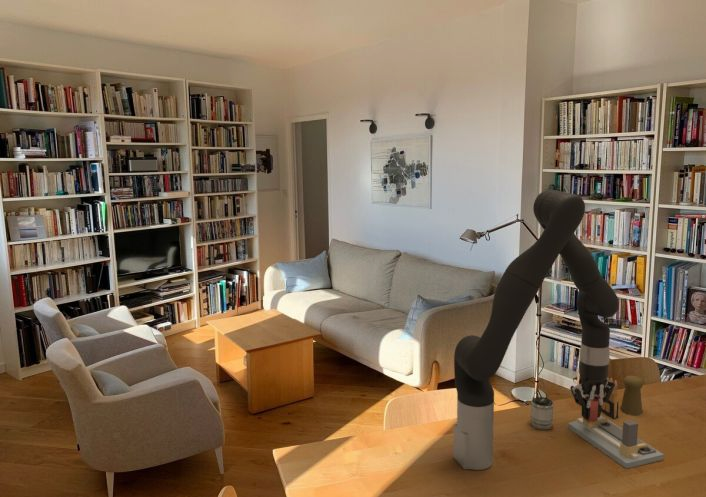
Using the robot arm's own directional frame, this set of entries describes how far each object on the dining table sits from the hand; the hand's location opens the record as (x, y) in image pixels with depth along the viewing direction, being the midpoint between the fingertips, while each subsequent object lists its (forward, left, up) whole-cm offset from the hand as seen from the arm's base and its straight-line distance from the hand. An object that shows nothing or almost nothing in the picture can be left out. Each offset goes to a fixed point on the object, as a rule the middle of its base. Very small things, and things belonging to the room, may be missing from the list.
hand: (591, 417), depth 152 cm
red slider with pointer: (+2, 0, -3) cm, 3 cm away
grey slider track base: (+2, -6, -5) cm, 8 cm away
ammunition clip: (+13, +10, -5) cm, 18 cm away
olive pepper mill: (+21, +7, -5) cm, 23 cm away
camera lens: (-10, +9, -5) cm, 14 cm away
